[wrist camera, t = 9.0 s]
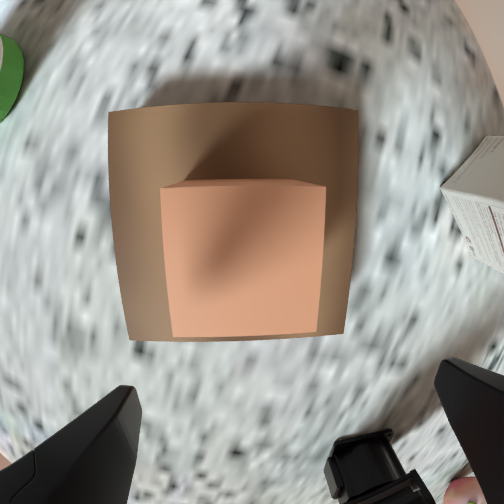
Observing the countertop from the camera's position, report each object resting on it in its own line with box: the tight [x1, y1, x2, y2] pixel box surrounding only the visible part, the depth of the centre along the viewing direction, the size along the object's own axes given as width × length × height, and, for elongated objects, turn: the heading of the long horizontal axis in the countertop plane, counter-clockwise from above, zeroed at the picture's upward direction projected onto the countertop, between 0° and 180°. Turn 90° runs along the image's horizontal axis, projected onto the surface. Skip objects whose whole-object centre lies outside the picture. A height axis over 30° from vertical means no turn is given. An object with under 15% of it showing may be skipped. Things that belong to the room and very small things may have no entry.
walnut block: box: [108, 102, 358, 342], centre depth 16 cm, size 12×12×4 cm
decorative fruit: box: [443, 477, 484, 504], centre depth 28 cm, size 9×8×10 cm
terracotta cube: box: [160, 179, 326, 337], centre depth 12 cm, size 5×5×5 cm
